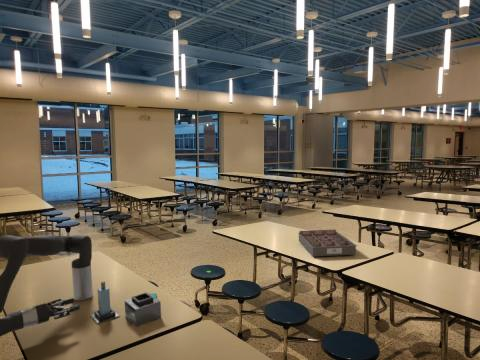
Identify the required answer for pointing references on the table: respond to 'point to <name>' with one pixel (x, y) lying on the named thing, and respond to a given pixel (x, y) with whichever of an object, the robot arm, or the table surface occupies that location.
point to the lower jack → (104, 316)
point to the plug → (103, 299)
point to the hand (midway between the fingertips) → (76, 303)
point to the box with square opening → (142, 309)
